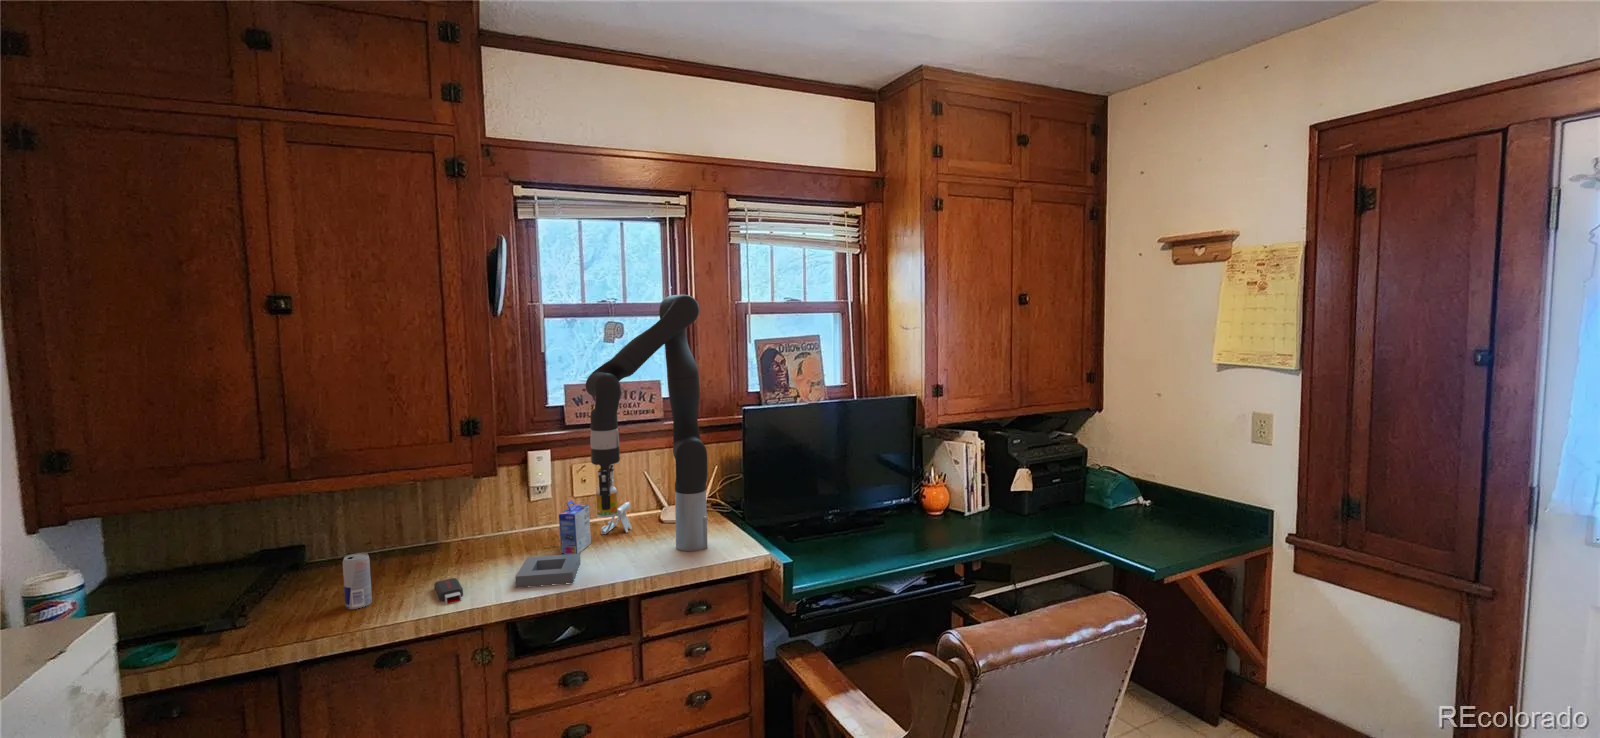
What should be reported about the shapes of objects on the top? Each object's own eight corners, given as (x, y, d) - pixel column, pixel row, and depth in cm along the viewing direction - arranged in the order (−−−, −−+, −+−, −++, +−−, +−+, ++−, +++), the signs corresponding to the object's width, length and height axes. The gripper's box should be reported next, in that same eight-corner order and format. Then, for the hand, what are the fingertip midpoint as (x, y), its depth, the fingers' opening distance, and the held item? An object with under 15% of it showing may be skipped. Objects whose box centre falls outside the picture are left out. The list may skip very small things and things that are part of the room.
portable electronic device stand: (611, 526, 219) (610, 501, 218) (634, 526, 218) (633, 502, 218) (600, 534, 211) (600, 509, 210) (624, 535, 210) (624, 509, 209)
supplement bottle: (599, 519, 178) (597, 483, 177) (595, 513, 183) (594, 479, 182) (619, 516, 181) (618, 481, 180) (615, 511, 186) (614, 476, 185)
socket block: (580, 563, 185) (580, 553, 185) (573, 583, 172) (572, 572, 172) (527, 567, 183) (527, 557, 183) (515, 588, 169) (515, 576, 169)
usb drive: (457, 585, 172) (456, 575, 172) (465, 601, 162) (465, 590, 162) (434, 590, 169) (433, 580, 169) (441, 606, 159) (441, 595, 159)
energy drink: (353, 600, 162) (350, 553, 161) (376, 599, 163) (373, 552, 162) (340, 610, 157) (337, 561, 156) (364, 609, 157) (361, 560, 156)
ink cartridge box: (574, 543, 203) (572, 496, 202) (591, 543, 202) (590, 497, 201) (559, 554, 193) (557, 505, 192) (577, 555, 192) (576, 506, 191)
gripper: (617, 450, 174) (619, 513, 175) (621, 440, 188) (623, 498, 189) (587, 451, 173) (590, 515, 174) (593, 441, 187) (596, 500, 188)
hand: (607, 506), depth 182 cm, fingers closed on supplement bottle, 5 cm apart
